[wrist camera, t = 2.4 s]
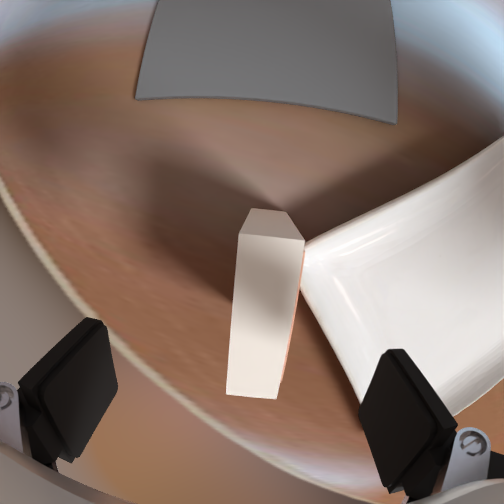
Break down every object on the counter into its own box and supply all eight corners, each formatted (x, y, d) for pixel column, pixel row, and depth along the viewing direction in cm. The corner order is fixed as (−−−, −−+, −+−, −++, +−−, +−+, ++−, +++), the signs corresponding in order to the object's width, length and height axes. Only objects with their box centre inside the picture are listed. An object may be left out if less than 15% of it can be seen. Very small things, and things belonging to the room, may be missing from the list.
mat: (382, -28, 14) (384, -31, 13) (393, 125, 18) (397, 124, 17) (179, -46, 14) (177, -49, 13) (138, 100, 18) (135, 98, 18)
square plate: (531, 324, 22) (546, 336, 18) (373, 435, 27) (381, 457, 23) (505, 125, 17) (529, 122, 13) (279, 244, 21) (282, 257, 17)
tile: (288, 212, 20) (310, 241, 11) (275, 312, 22) (280, 399, 13) (251, 208, 20) (238, 233, 11) (241, 308, 22) (226, 394, 13)
